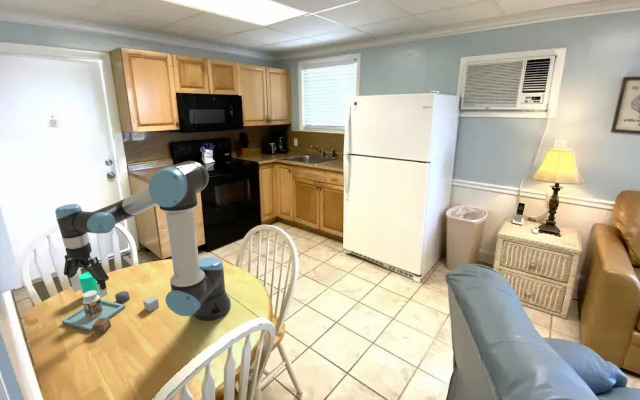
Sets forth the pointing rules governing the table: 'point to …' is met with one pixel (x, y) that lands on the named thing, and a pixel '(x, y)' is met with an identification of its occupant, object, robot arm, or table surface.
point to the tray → (86, 323)
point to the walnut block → (101, 325)
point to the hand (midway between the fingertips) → (90, 293)
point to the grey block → (151, 303)
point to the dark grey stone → (122, 297)
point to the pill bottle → (92, 304)
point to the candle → (88, 283)
